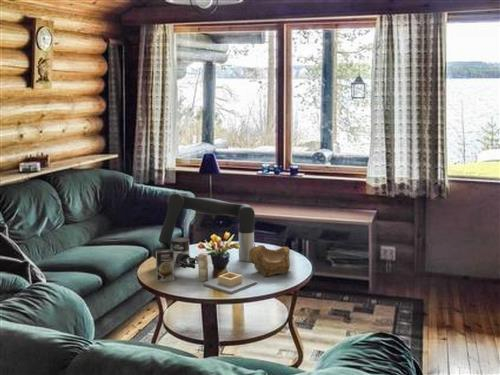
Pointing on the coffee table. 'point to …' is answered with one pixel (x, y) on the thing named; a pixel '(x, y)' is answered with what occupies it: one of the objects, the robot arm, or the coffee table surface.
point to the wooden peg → (203, 266)
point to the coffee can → (180, 245)
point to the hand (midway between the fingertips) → (200, 264)
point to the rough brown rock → (270, 260)
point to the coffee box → (164, 265)
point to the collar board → (230, 283)
